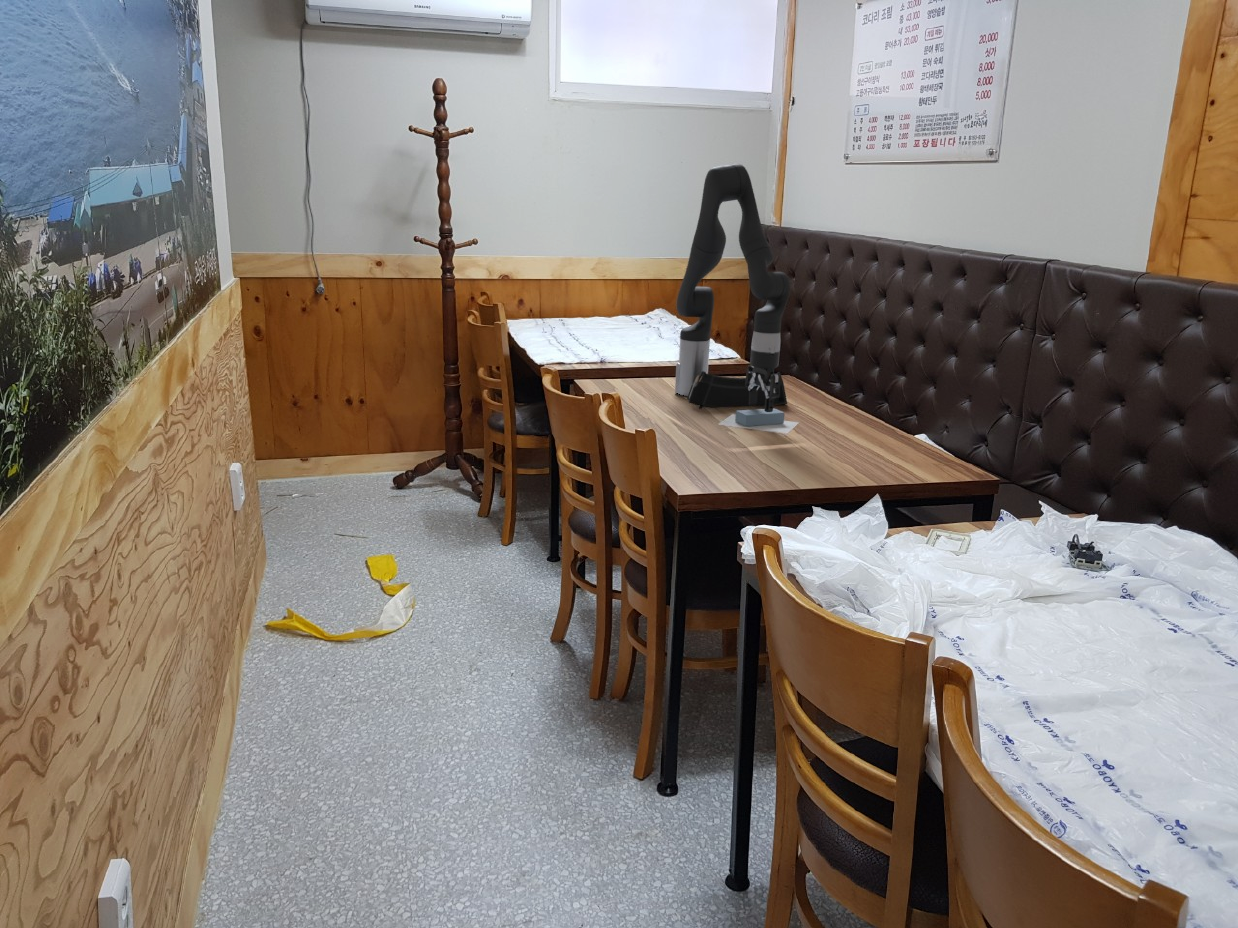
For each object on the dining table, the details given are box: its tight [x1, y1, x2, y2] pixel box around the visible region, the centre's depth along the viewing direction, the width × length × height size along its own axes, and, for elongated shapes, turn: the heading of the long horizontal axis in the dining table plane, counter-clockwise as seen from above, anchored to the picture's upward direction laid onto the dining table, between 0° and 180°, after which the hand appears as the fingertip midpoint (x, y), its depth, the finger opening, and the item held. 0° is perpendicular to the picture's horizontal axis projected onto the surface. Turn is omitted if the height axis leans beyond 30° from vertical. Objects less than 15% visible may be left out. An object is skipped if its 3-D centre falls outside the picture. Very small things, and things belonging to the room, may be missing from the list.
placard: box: [735, 407, 786, 426], centre depth 241 cm, size 3×6×12 cm
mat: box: [717, 413, 800, 435], centre depth 241 cm, size 19×14×1 cm
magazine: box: [686, 371, 788, 410], centre depth 260 cm, size 17×3×30 cm
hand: (760, 408), depth 240 cm, fingers open, 8 cm apart
